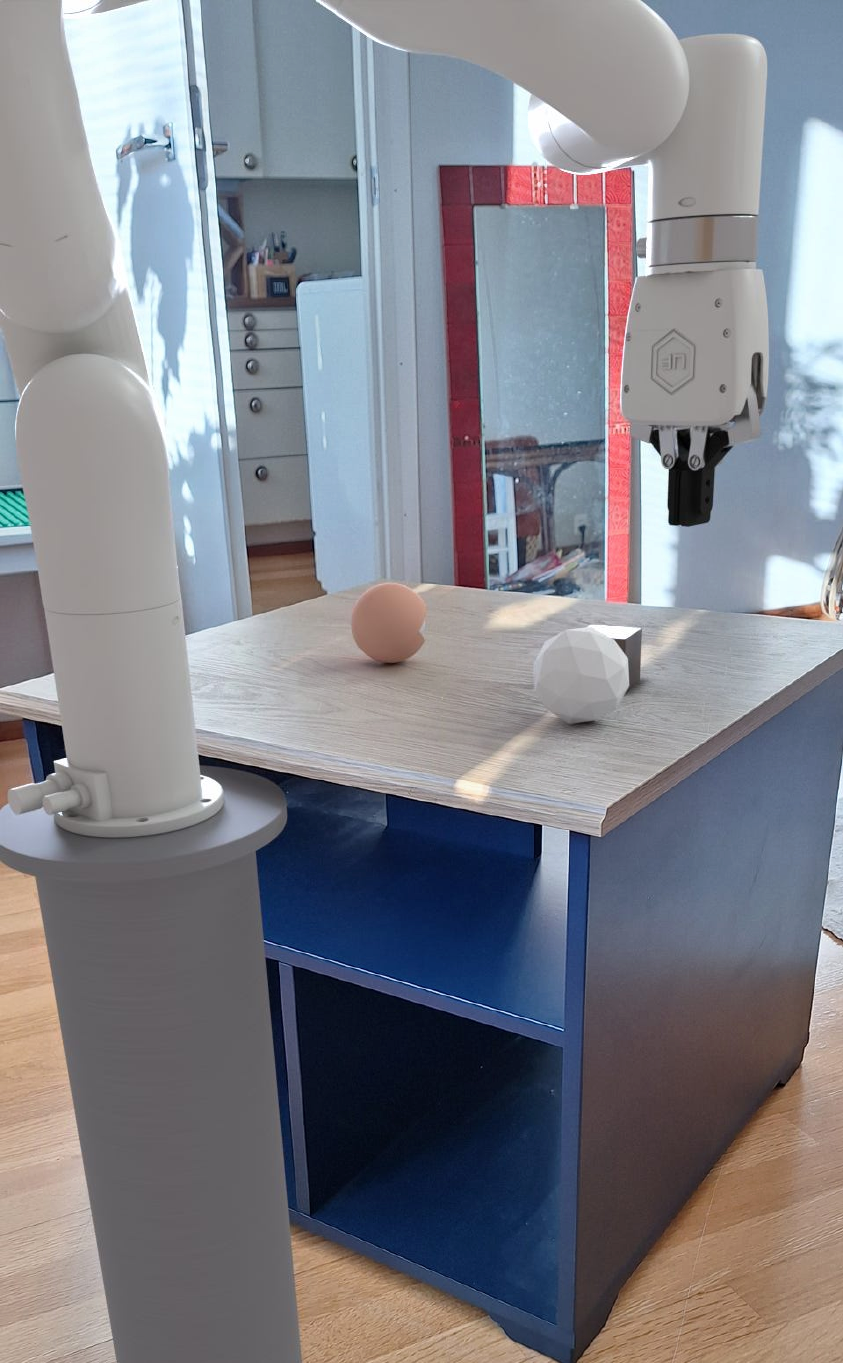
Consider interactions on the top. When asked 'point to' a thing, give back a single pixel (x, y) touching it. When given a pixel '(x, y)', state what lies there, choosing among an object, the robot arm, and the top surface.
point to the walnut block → (627, 647)
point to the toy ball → (389, 622)
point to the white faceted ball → (581, 675)
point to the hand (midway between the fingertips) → (689, 523)
